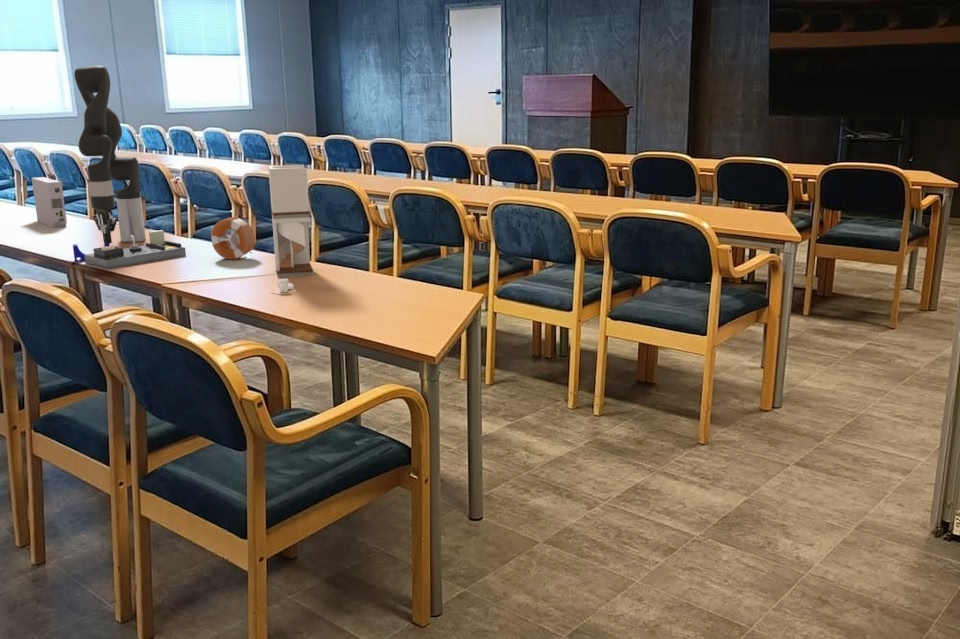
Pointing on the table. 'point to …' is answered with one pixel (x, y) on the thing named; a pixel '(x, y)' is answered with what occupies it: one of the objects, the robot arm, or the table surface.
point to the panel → (134, 255)
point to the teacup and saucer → (284, 285)
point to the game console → (49, 201)
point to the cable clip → (80, 253)
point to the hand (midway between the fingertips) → (107, 243)
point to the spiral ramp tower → (290, 219)
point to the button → (108, 247)
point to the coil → (232, 238)
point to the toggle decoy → (133, 242)
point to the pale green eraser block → (157, 237)
